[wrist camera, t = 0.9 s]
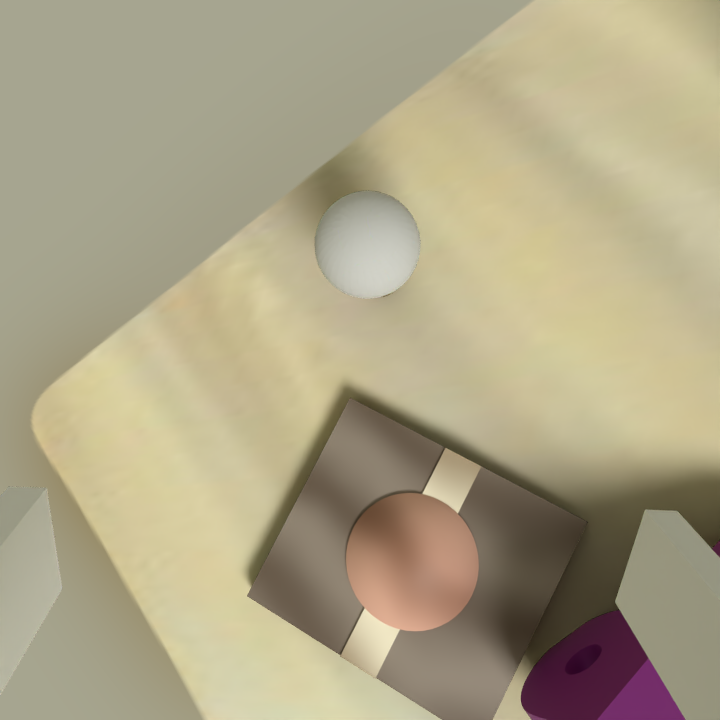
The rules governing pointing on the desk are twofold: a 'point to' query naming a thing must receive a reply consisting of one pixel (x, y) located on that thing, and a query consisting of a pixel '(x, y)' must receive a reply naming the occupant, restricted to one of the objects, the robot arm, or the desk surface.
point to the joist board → (417, 565)
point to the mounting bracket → (598, 677)
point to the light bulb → (367, 244)
